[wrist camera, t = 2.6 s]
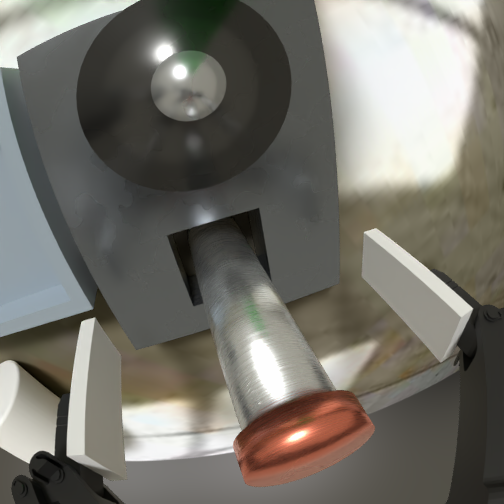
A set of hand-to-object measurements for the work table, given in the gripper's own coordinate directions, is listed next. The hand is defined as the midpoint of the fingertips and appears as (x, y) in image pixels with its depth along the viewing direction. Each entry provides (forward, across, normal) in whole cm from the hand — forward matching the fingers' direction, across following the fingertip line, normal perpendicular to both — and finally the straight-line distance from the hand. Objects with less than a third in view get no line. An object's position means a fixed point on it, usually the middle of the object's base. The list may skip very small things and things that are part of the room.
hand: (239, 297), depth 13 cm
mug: (+7, -23, -10) cm, 26 cm away
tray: (+6, -17, +6) cm, 19 cm away
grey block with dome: (+6, 0, +4) cm, 8 cm away
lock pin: (+6, 0, 0) cm, 6 cm away
